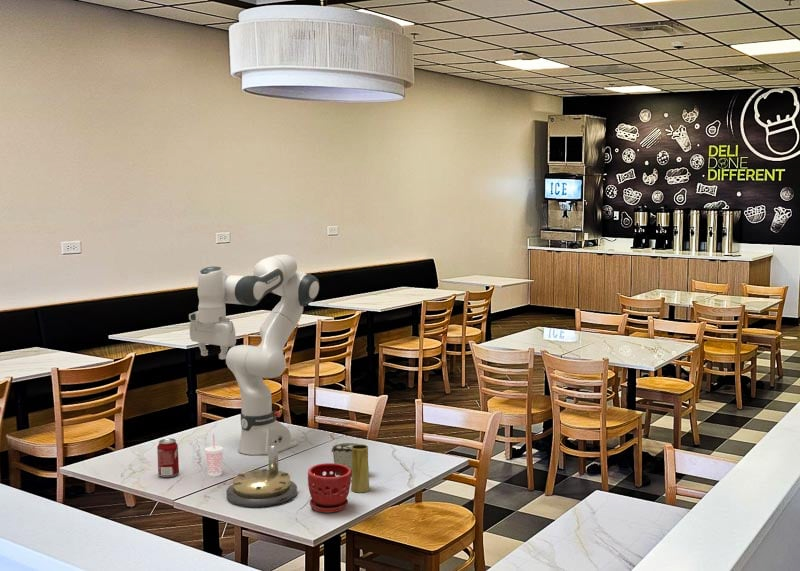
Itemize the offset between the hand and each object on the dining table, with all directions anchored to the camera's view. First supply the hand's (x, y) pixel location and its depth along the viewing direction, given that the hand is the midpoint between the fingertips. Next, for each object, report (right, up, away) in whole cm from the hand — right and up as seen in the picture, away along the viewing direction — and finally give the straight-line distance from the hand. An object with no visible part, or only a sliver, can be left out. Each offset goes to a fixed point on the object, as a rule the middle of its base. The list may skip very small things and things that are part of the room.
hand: (213, 357), depth 277 cm
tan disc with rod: (+18, -40, -14) cm, 46 cm away
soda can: (-17, -41, +6) cm, 44 cm away
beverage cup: (-1, -41, +7) cm, 41 cm away
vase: (+49, -42, -9) cm, 66 cm away
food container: (+46, -40, +6) cm, 61 cm away
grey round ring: (+18, -43, -14) cm, 48 cm away
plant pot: (+41, -44, -24) cm, 65 cm away
